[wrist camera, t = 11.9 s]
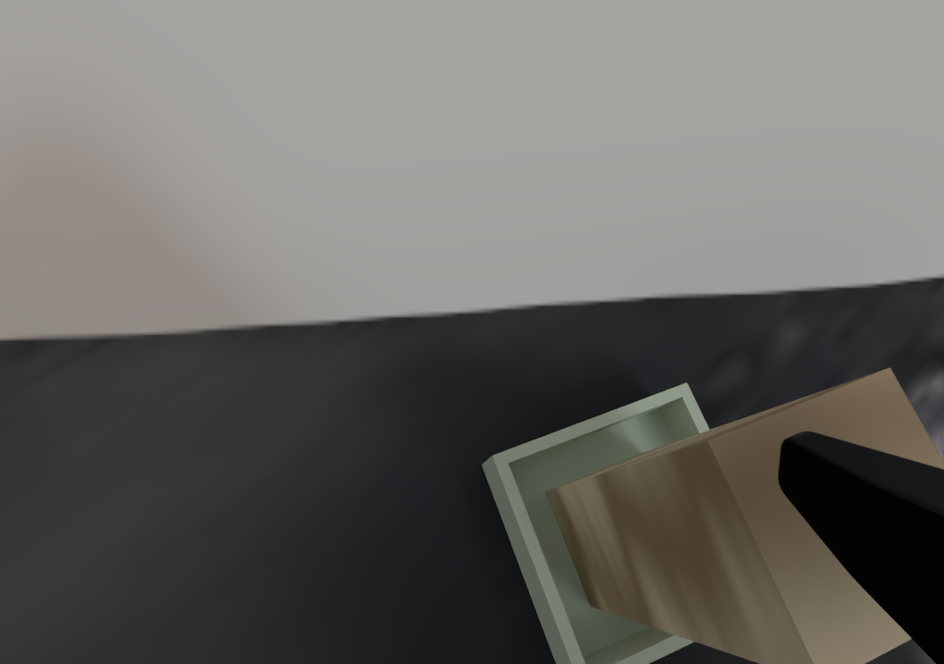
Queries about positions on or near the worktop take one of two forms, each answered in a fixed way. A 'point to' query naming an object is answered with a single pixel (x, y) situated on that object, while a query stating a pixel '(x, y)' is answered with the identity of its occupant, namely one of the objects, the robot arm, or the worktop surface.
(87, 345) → the worktop surface
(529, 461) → the open square box
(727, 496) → the tan wooden block
